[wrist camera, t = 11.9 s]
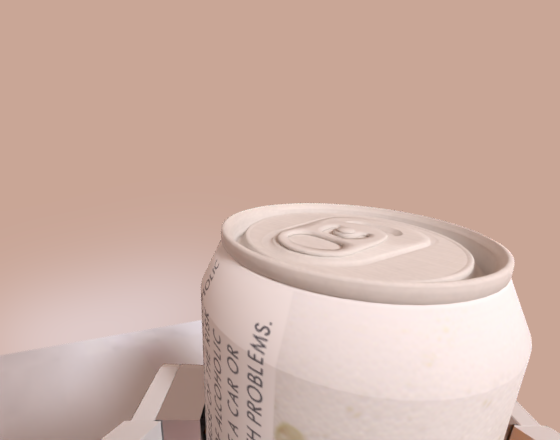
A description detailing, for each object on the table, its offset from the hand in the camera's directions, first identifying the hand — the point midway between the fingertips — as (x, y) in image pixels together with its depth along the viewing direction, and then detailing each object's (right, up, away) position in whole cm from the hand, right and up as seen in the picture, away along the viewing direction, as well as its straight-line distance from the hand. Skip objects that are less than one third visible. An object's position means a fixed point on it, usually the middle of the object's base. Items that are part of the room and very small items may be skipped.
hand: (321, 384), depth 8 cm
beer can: (0, -10, +2) cm, 10 cm away
